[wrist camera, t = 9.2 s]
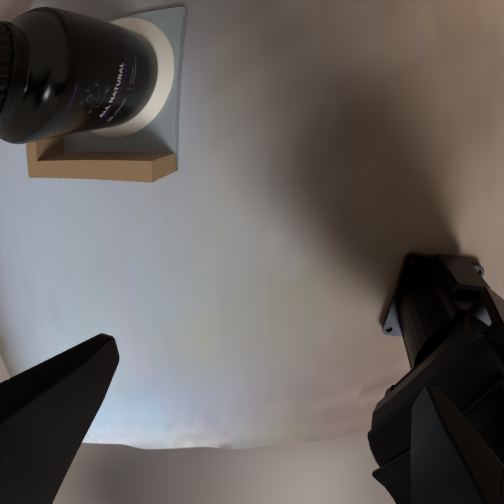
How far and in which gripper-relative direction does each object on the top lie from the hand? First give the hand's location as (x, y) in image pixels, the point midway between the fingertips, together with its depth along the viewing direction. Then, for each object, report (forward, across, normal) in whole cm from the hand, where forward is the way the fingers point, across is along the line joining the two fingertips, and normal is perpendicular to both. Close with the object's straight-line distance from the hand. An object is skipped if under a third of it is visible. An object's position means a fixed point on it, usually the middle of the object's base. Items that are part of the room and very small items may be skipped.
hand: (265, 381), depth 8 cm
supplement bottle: (+13, +12, -9) cm, 20 cm away
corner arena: (+13, +13, -8) cm, 20 cm away
